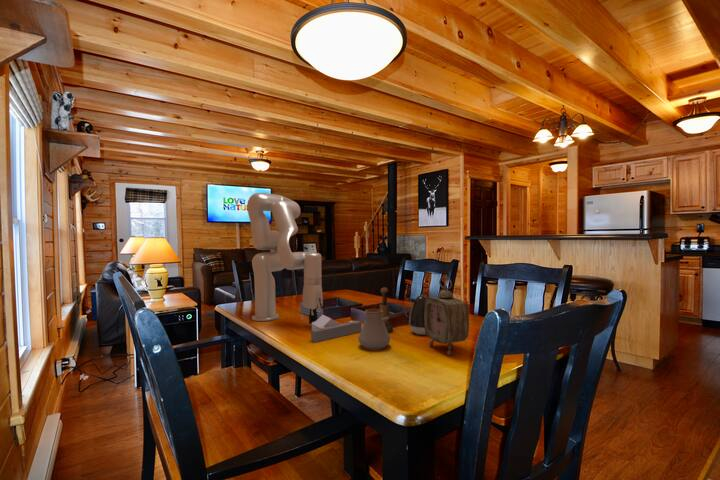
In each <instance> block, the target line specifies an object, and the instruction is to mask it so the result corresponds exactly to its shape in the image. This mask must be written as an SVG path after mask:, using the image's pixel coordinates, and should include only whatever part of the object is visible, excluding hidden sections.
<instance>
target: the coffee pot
mask: <svg viewBox="0 0 720 480" xmlns="http://www.w3.org/2000/svg"><path fill="white" fill-rule="evenodd" d="M364 312H365V313H366V316H365V317H366V318H365V319H364V322H363V325H362V326H361V332H359V334H358V338H357V339H358V340H357V341H358V343H359V344H360V345H361V346H362V348H364V349H366V350H369V351H378V350H383V349H385V348H386V346H387V345H388V344H390V342H391V336H390V333H388V331H387V329H386V327H385V324H384V322H383V321H384V320H387V319H389V320H390V319H394V318H399V317H401V316H403V315H405V316H406V317H407V318H409V317H410V315H409V316H408V315H407V313H409V314H410V312H411V311H408V310H404V311H403V310H402V311H400V312H396V313H393V314H391V315H389V317H385V318H382V317H381V314H382V312H383V310H381V309H380V308H368V309H365V310H364Z"/></svg>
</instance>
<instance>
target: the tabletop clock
mask: <svg viewBox="0 0 720 480" xmlns="http://www.w3.org/2000/svg"><path fill="white" fill-rule="evenodd" d="M443 279H444V280H446V281H447V280H448V282H449V283H450V286H449V287H448V285H446V284H444V285H442V283H441V281H442V280H443ZM438 283H439V287H440V288H441V289H442V290H440V291H439V292H438V294H437V296H435V297H427V298H426V299H425V303H424V327H425V333H426V336H427V337H428V338H429V339H431V340H430V341H429V342H428V345H429V346H430V347H432V346H434V342H437V343H439V344H442V345H445V344H447V345H448V350H447V352H446V354H447V356H452V354H453V351H452V350H453V349H454V348H455V346H454V344H453V343H459V342H465V341H467V339H468V337H469V331H470V311H469V310H470V309H469V305H468V304H467V303H466V302H465V301H463V300H461V299H459V298H457V297H454V293H452V291H450V290H451V288H452V287H453V282H452V280H451V279H450V277H447V276H442V277H440V278H439V282H438Z"/></svg>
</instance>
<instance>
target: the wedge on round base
mask: <svg viewBox="0 0 720 480" xmlns="http://www.w3.org/2000/svg"><path fill="white" fill-rule="evenodd" d="M338 324H339V323H338V322H337V321H336V320H335V319H332V318H330V316H326V315H324V314H322V315H321V316H319V318H318V317H317V320H316V321H314V322H312V325H311V330H314V329H319V328H320V327H329V326H334V325H338Z"/></svg>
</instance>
